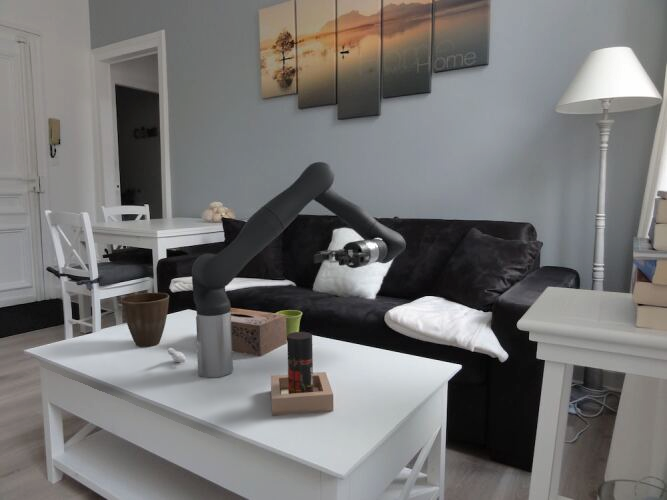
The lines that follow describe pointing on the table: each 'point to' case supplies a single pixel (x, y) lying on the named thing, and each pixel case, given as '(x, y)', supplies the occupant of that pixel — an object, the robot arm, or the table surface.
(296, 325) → the plant pot
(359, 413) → the table surface
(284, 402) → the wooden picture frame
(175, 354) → the rabbit figurine
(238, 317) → the tissue box cover
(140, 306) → the plant pot
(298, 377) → the deodorant
